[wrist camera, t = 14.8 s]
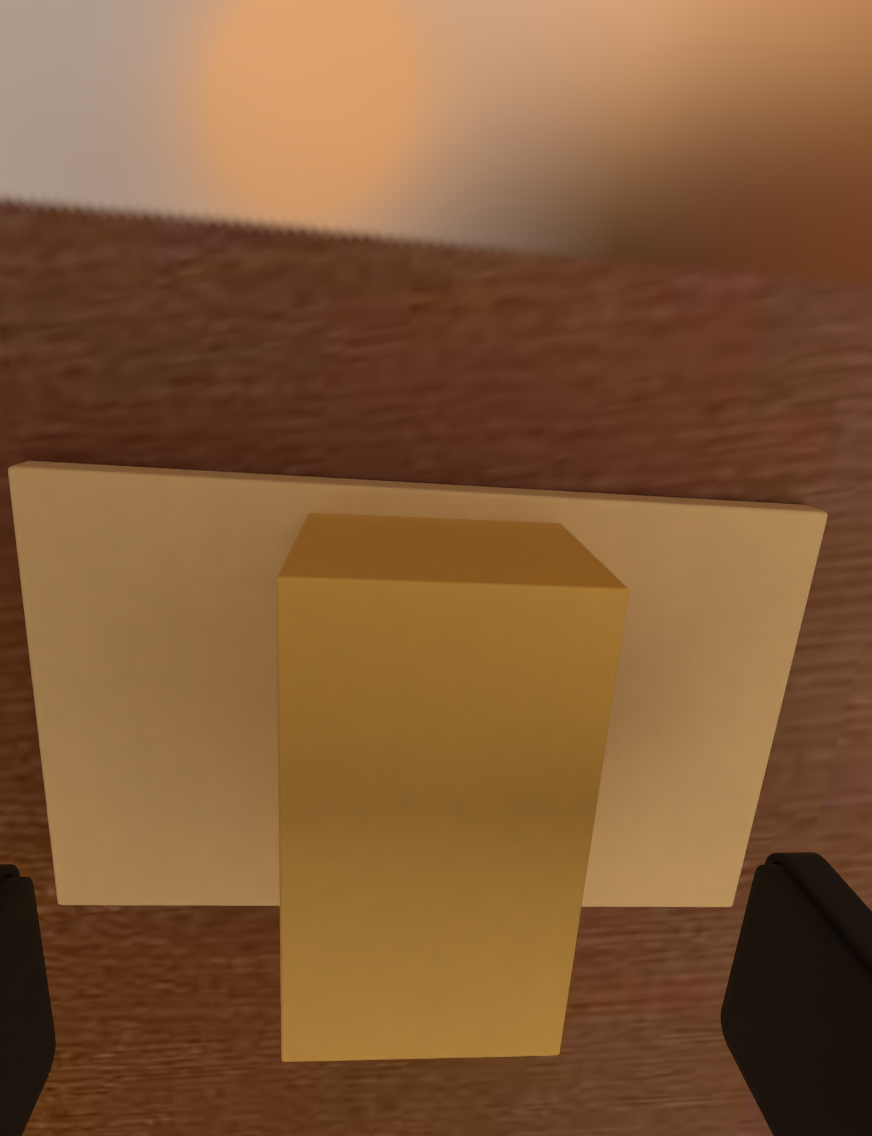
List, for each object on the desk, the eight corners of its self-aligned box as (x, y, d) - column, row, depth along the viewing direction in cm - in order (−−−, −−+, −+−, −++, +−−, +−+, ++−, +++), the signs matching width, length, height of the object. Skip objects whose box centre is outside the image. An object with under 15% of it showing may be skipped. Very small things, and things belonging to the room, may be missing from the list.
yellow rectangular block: (308, 512, 13) (275, 576, 9) (562, 522, 14) (630, 588, 10) (305, 892, 16) (280, 1063, 12) (518, 891, 16) (559, 1056, 12)
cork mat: (72, 880, 16) (56, 907, 15) (26, 459, 13) (4, 465, 12) (718, 884, 18) (733, 908, 17) (807, 504, 15) (830, 512, 14)
